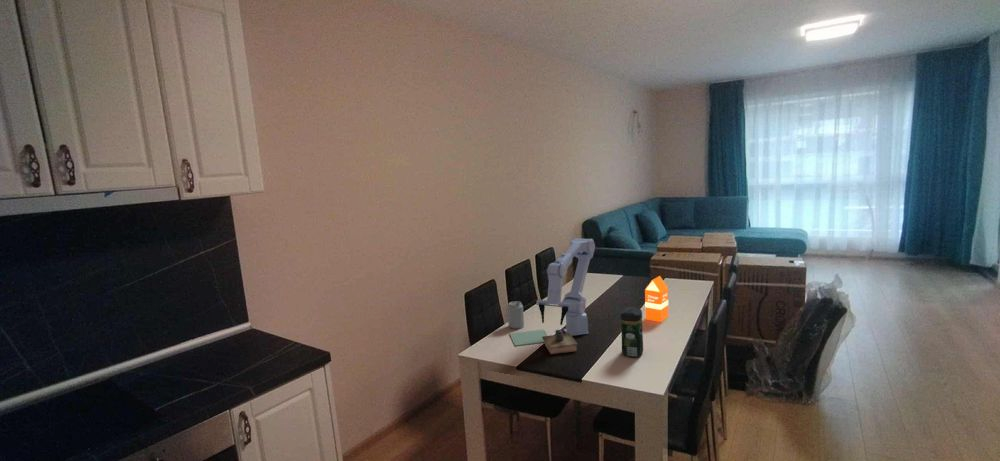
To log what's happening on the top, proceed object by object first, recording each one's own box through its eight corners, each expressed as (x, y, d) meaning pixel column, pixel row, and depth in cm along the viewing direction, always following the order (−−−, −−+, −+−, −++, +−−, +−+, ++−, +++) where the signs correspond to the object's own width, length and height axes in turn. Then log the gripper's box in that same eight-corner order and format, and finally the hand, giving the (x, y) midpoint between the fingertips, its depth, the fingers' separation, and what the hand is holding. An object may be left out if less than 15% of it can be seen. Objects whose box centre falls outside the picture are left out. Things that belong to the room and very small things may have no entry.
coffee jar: (625, 346, 186) (624, 304, 184) (645, 349, 182) (644, 305, 180) (619, 356, 178) (618, 311, 175) (639, 359, 174) (638, 313, 171)
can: (523, 329, 213) (521, 305, 212) (507, 329, 215) (505, 305, 213) (525, 323, 221) (523, 300, 219) (510, 323, 222) (508, 300, 220)
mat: (543, 330, 210) (543, 329, 210) (551, 341, 197) (550, 340, 197) (509, 334, 208) (509, 333, 208) (515, 346, 195) (515, 345, 194)
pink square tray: (568, 340, 196) (568, 335, 196) (576, 350, 186) (576, 345, 185) (544, 344, 195) (543, 338, 194) (550, 354, 184) (550, 348, 184)
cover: (569, 334, 197) (568, 324, 196) (577, 345, 185) (577, 334, 184) (542, 338, 195) (541, 327, 194) (549, 349, 183) (549, 338, 182)
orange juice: (668, 316, 217) (668, 276, 214) (660, 322, 211) (660, 280, 208) (653, 313, 222) (652, 274, 219) (645, 319, 216) (644, 278, 213)
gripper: (537, 290, 187) (534, 323, 186) (572, 293, 185) (569, 326, 185) (537, 289, 194) (534, 320, 193) (571, 292, 192) (568, 324, 192)
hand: (552, 323), depth 189 cm, fingers open, 7 cm apart
